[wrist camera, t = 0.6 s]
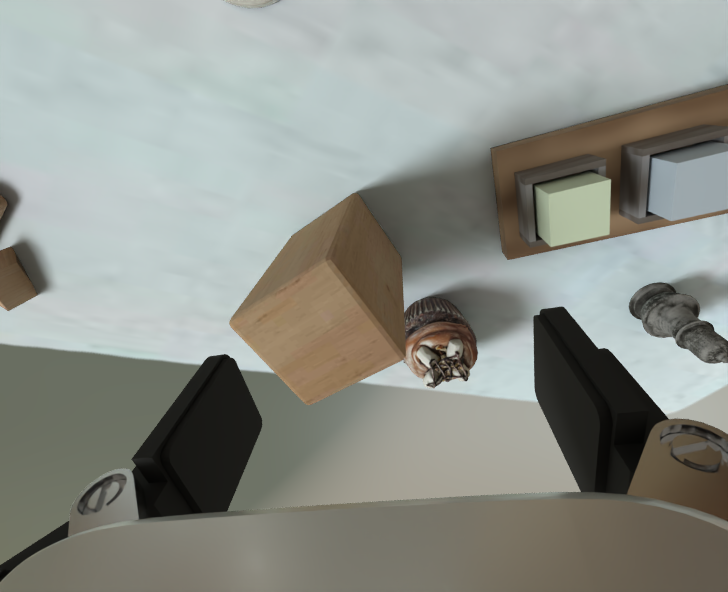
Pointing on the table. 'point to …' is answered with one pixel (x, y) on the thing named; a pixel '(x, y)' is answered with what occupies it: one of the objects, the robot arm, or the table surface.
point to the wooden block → (328, 304)
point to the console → (603, 164)
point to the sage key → (572, 208)
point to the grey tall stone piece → (678, 321)
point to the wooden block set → (13, 276)
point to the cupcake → (438, 342)
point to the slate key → (688, 181)
